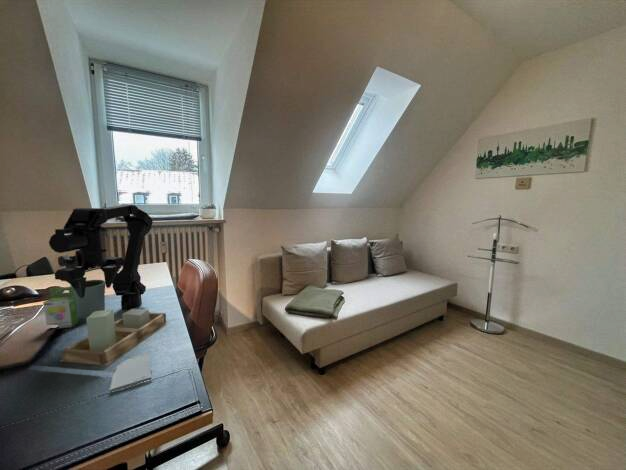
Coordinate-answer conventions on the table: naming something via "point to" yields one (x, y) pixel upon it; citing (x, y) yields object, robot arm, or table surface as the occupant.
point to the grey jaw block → (135, 318)
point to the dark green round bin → (91, 298)
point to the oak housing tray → (124, 342)
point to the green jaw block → (101, 330)
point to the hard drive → (131, 372)
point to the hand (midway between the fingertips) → (95, 292)
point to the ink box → (61, 308)
